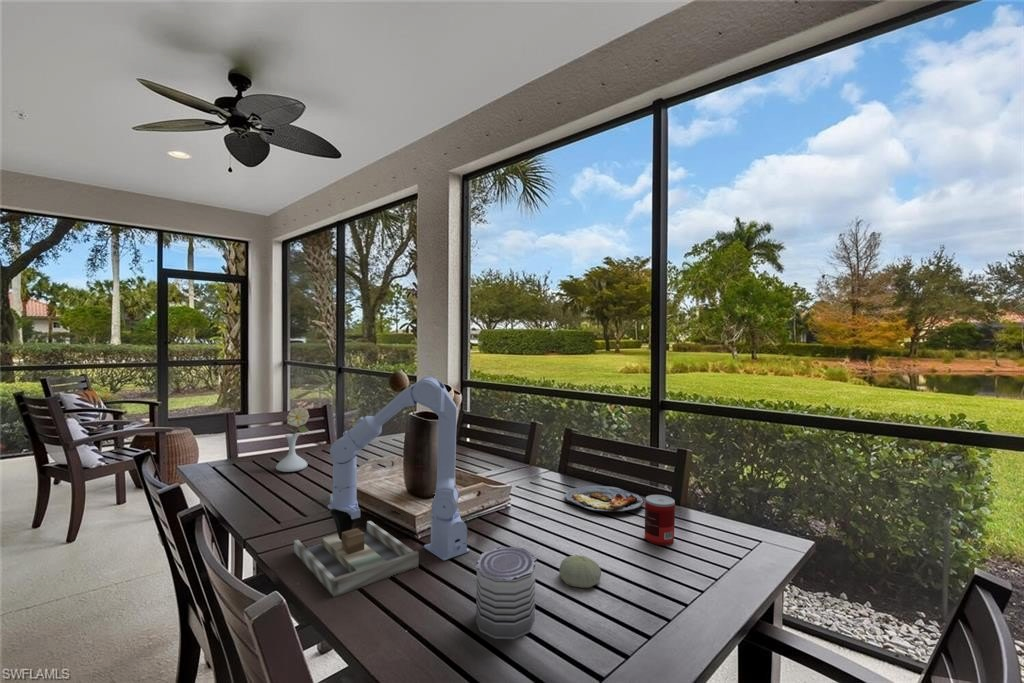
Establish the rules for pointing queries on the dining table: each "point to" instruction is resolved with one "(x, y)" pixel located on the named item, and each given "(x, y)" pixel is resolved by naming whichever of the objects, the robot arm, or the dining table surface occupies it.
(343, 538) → the walnut cube
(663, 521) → the canned food
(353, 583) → the box
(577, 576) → the sea urchin shell
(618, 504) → the food plate
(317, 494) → the dining table surface
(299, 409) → the flower in vase
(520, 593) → the can
